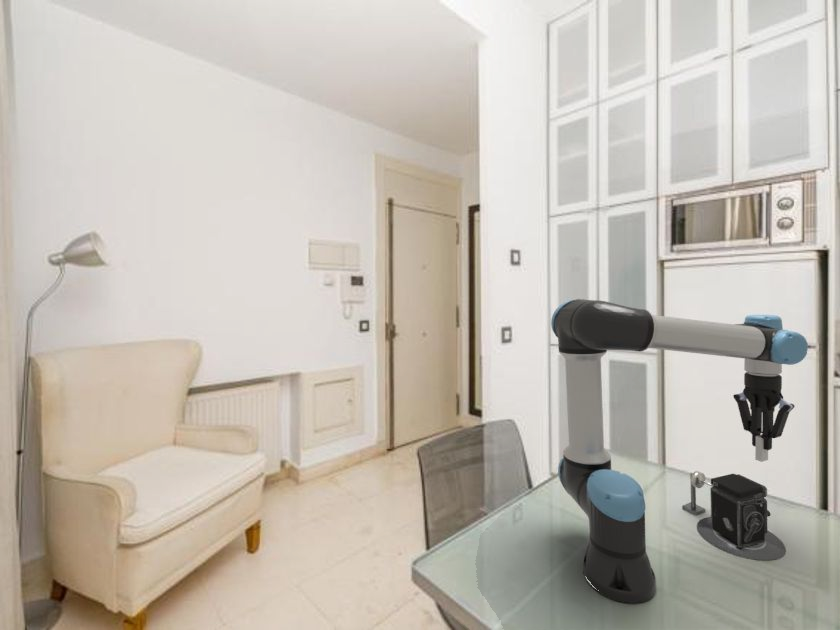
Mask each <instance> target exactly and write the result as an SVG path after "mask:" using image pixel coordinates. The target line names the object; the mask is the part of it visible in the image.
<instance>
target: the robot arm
mask: <svg viewBox="0 0 840 630" xmlns="http://www.w3.org/2000/svg"><path fill="white" fill-rule="evenodd" d="M550 324H551V329H552V332H553V333H554V335H555V337H557V341H558V342H557V343H558V344H557V345H558V346H557V347H558V353H559V354H560V355H561V356H562V357H564V359H565V362H564V363H565V383H566V386H565V387H566V404H567V405H566V408H567V411H566V412H567V431H568V432H567V433H568V445H567V446H566V447H565V448H564V449H563V454H562V455H563V456H562V459H560V461H559V463H558V466H557V474H558V479H559V481H560V483H561V485H562V487H563V488H564V489H563V490H565V492H566V493H567V494H568V495H569V496H570V497H571V499H572V500H574V502H575V503H576V504H577V505H578V506H579V507H580V509H581V510H582V511H583V512H584V514H586V516H587V518H588V524H589V525H588V527H589V542H588V545H587V547H586V551H585V554H584V555H583V556H584V557H583V561H582V572H583V571H584V573H583V575H584V574H585V576H586V577H587V579H588V580H589V581H590V582H591V584H592V585H593V586H594V587H595V588H596V589H597V590H599V592H600V593H602V594H603V595H602V594H601V595H602V596H604V597H606V598H608V599H610V600H612V601H616V602H620V601H621V603H624V602H629V603H628V604H641V603H643V602H644V603H645V602H647V601H649V600H650V599H652V598H653V597H654V596H655V594H656V590H657V581H656V575H655V572H654V569H653V568H652V565H651V562H650V559H649V556H648V554H647V550H646V549H647V547H646V546H647V545H646V500H645V495H644V491H643V489H642V486H641V484H640V483H639V482H638V481H636V479H634V478H633V477H632V476H630V475H628V474H627V473H621V472H620V471H618V470H614V469H612V456H611V453H610V452H609V451H608V450H607V449H605V442H604V441H605V438H604V415H603V414H604V413H603V411H604V410H603V387H602V384H603V383H602V362H601V361H602V358H603V356H604V355H606V353H607V352H608V351H629V352H630V351H631V352H644V351H646V350H648V349H655V350H663V351H673V352H681V353H691V354H692V353H693V354H701V355H708V356H719V357H728V358H737V359H744V362H743V363H744V368H743V369H744V371H745V372H744V375H743V376H744V378H743V380H744V381H743V383H744V389H743V390H742V392H740V393H737V394H736V393H735V394H733V395H732V396H733V399H734V400H735V402H736V403H737V404H736V405H737V408H738V412H739V417H740V419H741V423H742V428H743V430H744V431H746V432H749V433H750V434H751V444H752V447H755V452H754V453H755V454H754V455H755V457H754V458H755V459H754V460H756V461H758V462H761V463H762V462H765V461H768V460H769V451H770V450H771V449H773V439H777V438H780V437H782V435H783V432H784V429H785V427H786V424H787V421H788V417H789V415H790V412H792V410H793V409H794V408H795V404H793V403H789V402H787V401H786V400H785V399H784V396H783V394H782V385H783V381H782V380H783V379H782V377H783V376H781V374H782V373H783V370H782V369H783V365H789V366H790V365H791V366H792V365H797V364H799V363H800V362H802V361H803V360H804V359H805V358H806V356H807V354H808V350H809V349H808V348H809V343H808V341H807V339H806V338H805V337H804V335H802V334H801V333H799V332H797V331H793V330H788V329H783V320H782V317H780V316H778V315H776V314H775V315H773V314H750V315H746V316H745V318H744V321H743V323H735V324H732V323H723V322H716V321H715V322H714V321H709V320H708V321H707V320H697V319H689V318H681V317H675V316H674V317H673V316H665V315H655V314H652V312H650V311H649V310H647V309H643V308H636V307H630V306H626V305H625V306H624V305H621V304H617V303H613V302H610V301H604V300H595V299H593V300H592V299H585V298H584V299H583V298H582V299H581V298H580V299H579V298H577V299H571V300H567V301H564V302H563V303H561V304H560V305H558V306H557V308H556V309H555V310H554V312H553V313H552V317H551V323H550ZM748 402H749V403H748ZM749 404H750V405H749ZM777 405H779V406H778V408H779V410H778V411H777V415H776V417H775V421H774V413H775V411H776V410H775V409H776V407H777ZM749 406H750V407H749ZM599 592H598V593H599ZM600 593H599V594H600Z"/></svg>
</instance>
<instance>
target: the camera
mask: <svg viewBox="0 0 840 630" xmlns="http://www.w3.org/2000/svg"><path fill="white" fill-rule="evenodd" d="M710 484H712V485H714V486H713V487H712V486H710V488H709V489H710V490H709V491H710V517H711V527H712V529H714V530H715V531H716V532H717V533H720V534H722V535H723V536H725V537H726V538H728V539H730V540H731V541H733V542H734V543H736V544H737V545H738V546H739V547H745V546H750V545H754V544H759V543H764V542H765V534H766V533H767V530H768V517H769V518H770V517H771V512H770V511H769V510H768V500H767V499H766V497H768V488H767V487H766V485H763V484H761V483H759V482H757V481H755V480H752V479H750V478H748V477H746V476H743V475H741V474H736V473H730V474H729V473H728V474H727V475H726V474H725V475H721V476H717V477H712V478H710Z"/></svg>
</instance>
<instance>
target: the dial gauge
mask: <svg viewBox="0 0 840 630" xmlns="http://www.w3.org/2000/svg"><path fill="white" fill-rule="evenodd" d="M689 476H690V477H689V478H690V502H688V503H685V504H683V505H682V507H681V508H682V510H684V511H686V512H688V513H690V514H692V515H694V516H698V515H701V514H704V513H706V508H705V507H702V506H700V505H698V504H697V496H696V495H697V493H696V492H697V490H696V488H697V489H701V488H703V487H704V485H705V484H706V485H708V486H710V487H713V486H714V485H712V484H711V482H710V483H709V482H708V481H706V476H705V474H704V473H703V472H701V471H698V470H696V471H694V472H693V473H692V472H691V473H690V475H689Z"/></svg>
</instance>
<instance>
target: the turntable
mask: <svg viewBox="0 0 840 630" xmlns="http://www.w3.org/2000/svg"><path fill="white" fill-rule="evenodd" d="M696 530H697V532H698V534H699V535H700V537H702V539H703V540H705V541H706V542H707V543H709V544H710V545H711V546H714V547H715V548H717V549H719V550H720V551H723V552H726V553H728V554H730V555H732V556H733V555H734V556H736V557H739V558H744V559H747V560H748V559H749V560H754V561H763V562H764V561H774V560H778V558H779V559H781V558H782V557H784V556H785V554H786V546H785V544H784V542H783V541H782V540H781V539H780V538H779V537H778V536H777V535H775V534H774V533H772V532H771V531H769V530H768V529H767V533H766V534H765V542H764V543H759V544H754V545H750V546H745V547H739V546H738V545H737V544H736V543H734V542H733V541H731V540H730V539H728V538H726V537H725V536H723V535H722V534H720V533H717V532H716V531H715V530H714V529H712V527H711V516H706V517H703V518H701V519H699V520H698V521H697V523H696Z"/></svg>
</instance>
